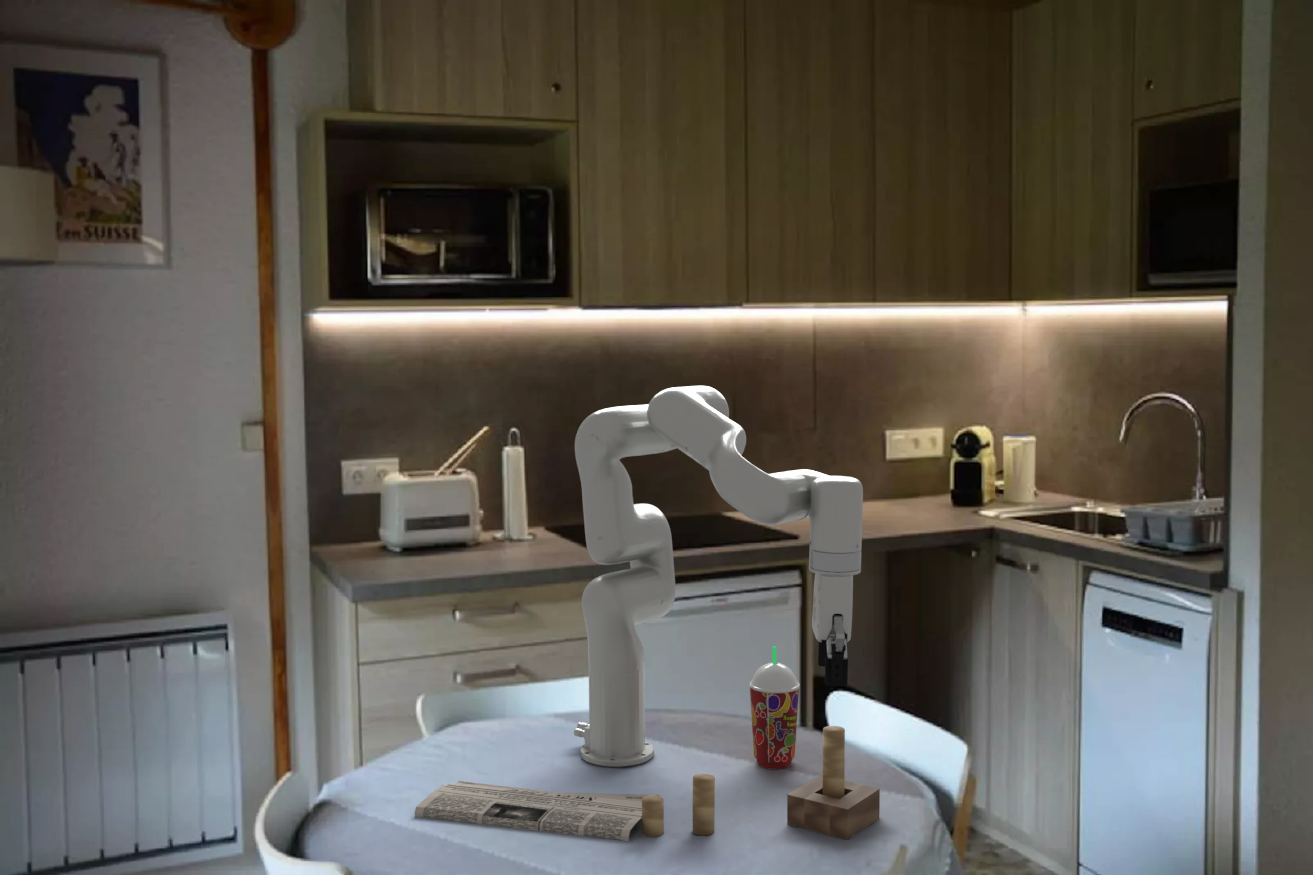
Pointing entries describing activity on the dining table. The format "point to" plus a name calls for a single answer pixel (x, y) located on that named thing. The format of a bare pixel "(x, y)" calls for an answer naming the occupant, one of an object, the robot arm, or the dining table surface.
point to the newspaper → (535, 809)
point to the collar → (833, 808)
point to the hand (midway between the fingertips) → (832, 675)
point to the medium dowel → (703, 804)
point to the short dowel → (652, 816)
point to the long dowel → (833, 761)
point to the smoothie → (774, 714)
